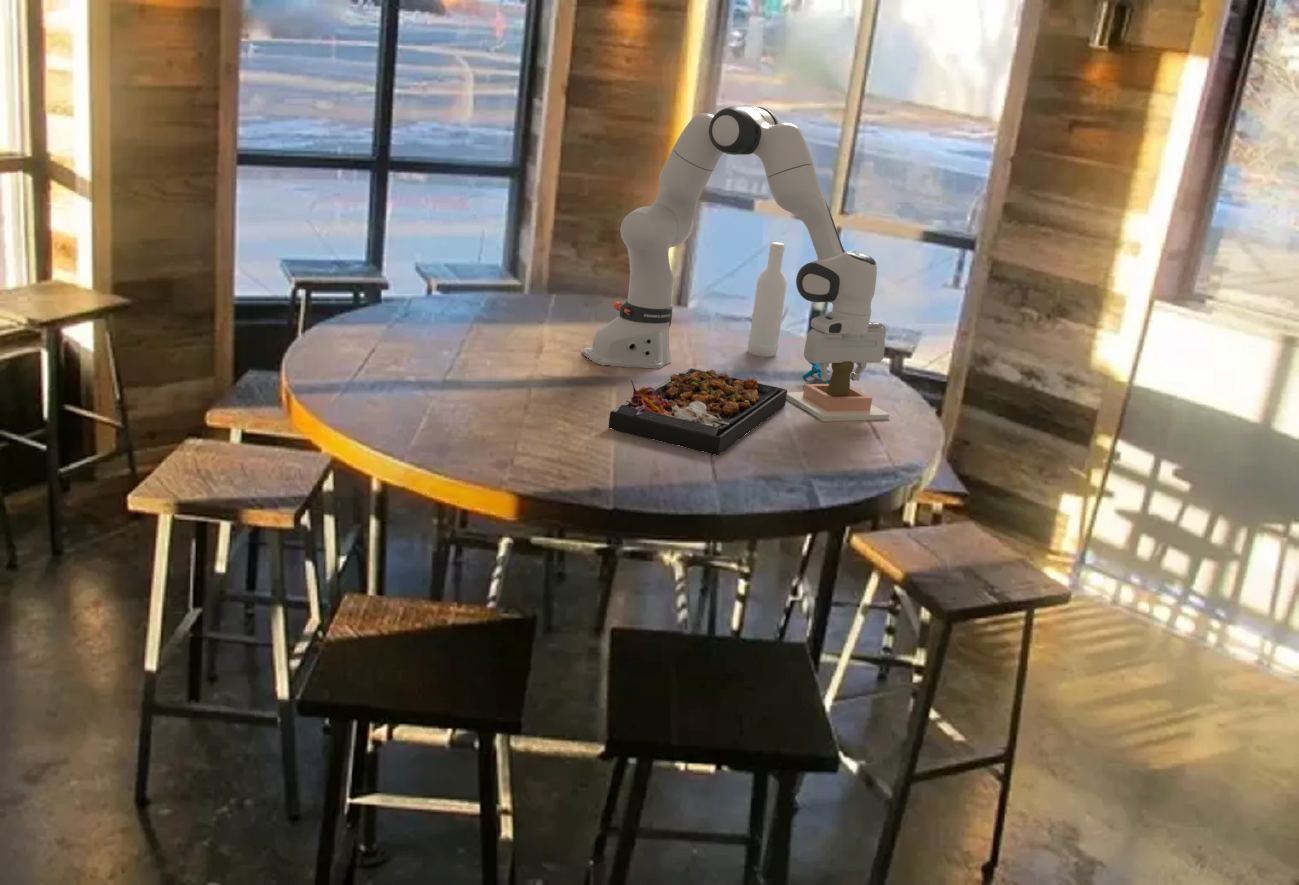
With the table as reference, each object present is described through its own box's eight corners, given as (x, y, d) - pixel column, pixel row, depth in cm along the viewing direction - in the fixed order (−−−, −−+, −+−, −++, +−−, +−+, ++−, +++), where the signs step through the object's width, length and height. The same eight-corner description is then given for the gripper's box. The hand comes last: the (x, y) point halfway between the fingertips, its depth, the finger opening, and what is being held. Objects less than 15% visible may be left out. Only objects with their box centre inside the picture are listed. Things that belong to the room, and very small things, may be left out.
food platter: (717, 458, 247) (724, 409, 244) (608, 431, 256) (613, 384, 253) (784, 407, 287) (791, 365, 284) (688, 385, 296) (693, 344, 292)
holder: (822, 421, 278) (825, 403, 276) (783, 397, 293) (786, 380, 292) (888, 419, 285) (891, 402, 284) (847, 395, 300) (849, 379, 299)
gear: (828, 382, 304) (806, 349, 305) (808, 395, 306) (787, 362, 307) (839, 379, 314) (818, 347, 315) (820, 392, 316) (799, 359, 318)
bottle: (743, 353, 329) (758, 242, 320) (752, 347, 336) (767, 239, 327) (771, 359, 327) (788, 247, 317) (780, 353, 334) (796, 244, 324)
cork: (851, 402, 290) (859, 358, 287) (846, 408, 285) (853, 363, 281) (826, 397, 292) (834, 353, 289) (820, 403, 287) (828, 358, 283)
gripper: (879, 319, 289) (869, 376, 294) (805, 319, 281) (796, 377, 285) (894, 326, 284) (884, 383, 289) (819, 326, 276) (810, 385, 280)
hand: (840, 380), depth 287 cm, fingers open, 7 cm apart
